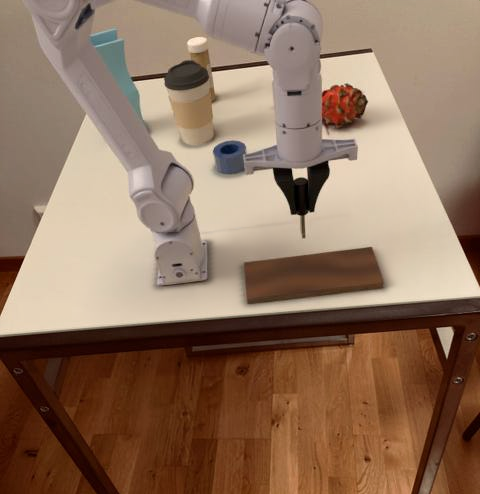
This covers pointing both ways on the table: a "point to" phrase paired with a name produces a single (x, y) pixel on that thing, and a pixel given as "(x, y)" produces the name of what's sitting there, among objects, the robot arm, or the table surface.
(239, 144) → the utensil cup
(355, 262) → the cutting board
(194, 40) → the sprinkles bottle
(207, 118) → the coffee cup
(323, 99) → the dragon fruit
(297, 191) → the screwdriver
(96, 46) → the vase
